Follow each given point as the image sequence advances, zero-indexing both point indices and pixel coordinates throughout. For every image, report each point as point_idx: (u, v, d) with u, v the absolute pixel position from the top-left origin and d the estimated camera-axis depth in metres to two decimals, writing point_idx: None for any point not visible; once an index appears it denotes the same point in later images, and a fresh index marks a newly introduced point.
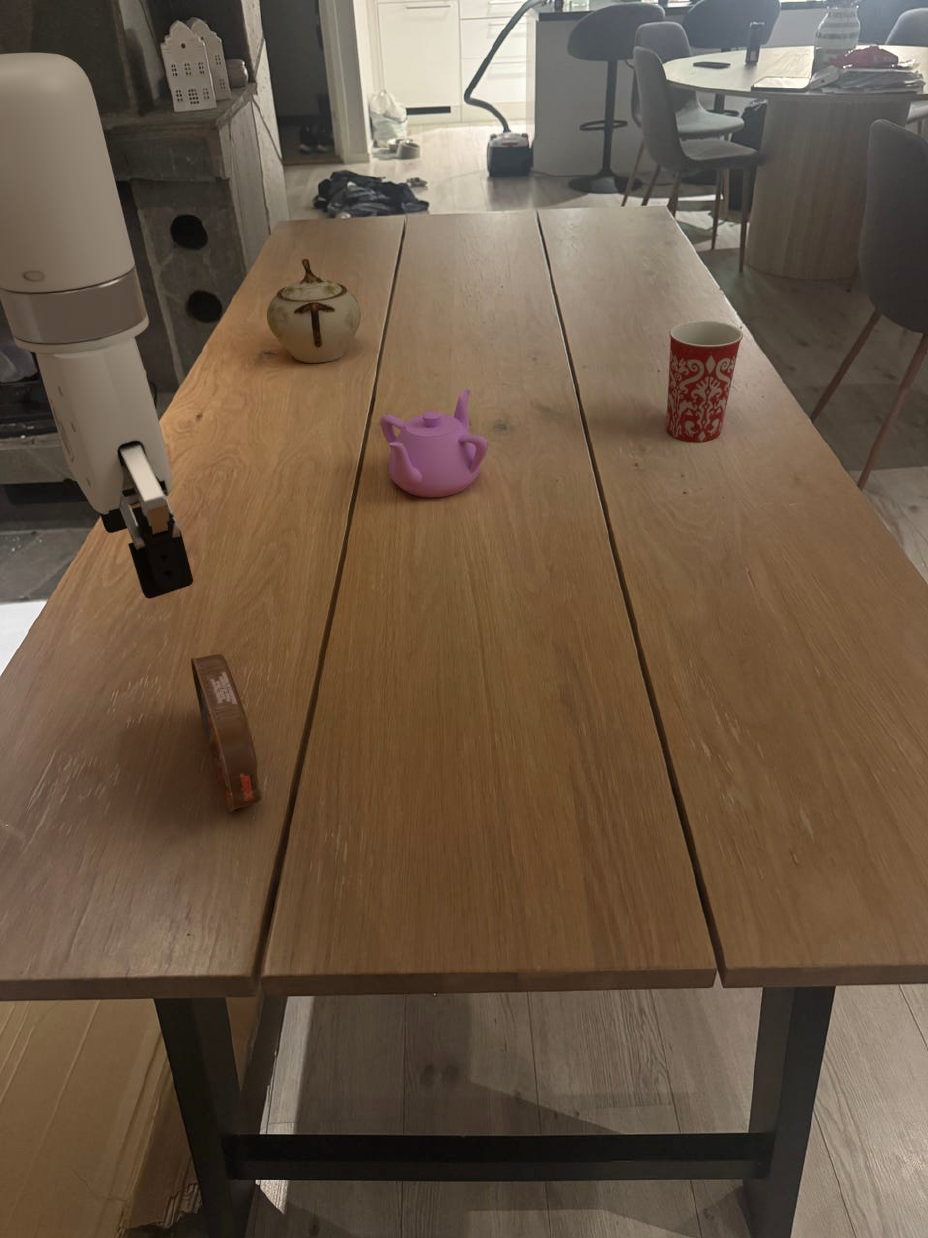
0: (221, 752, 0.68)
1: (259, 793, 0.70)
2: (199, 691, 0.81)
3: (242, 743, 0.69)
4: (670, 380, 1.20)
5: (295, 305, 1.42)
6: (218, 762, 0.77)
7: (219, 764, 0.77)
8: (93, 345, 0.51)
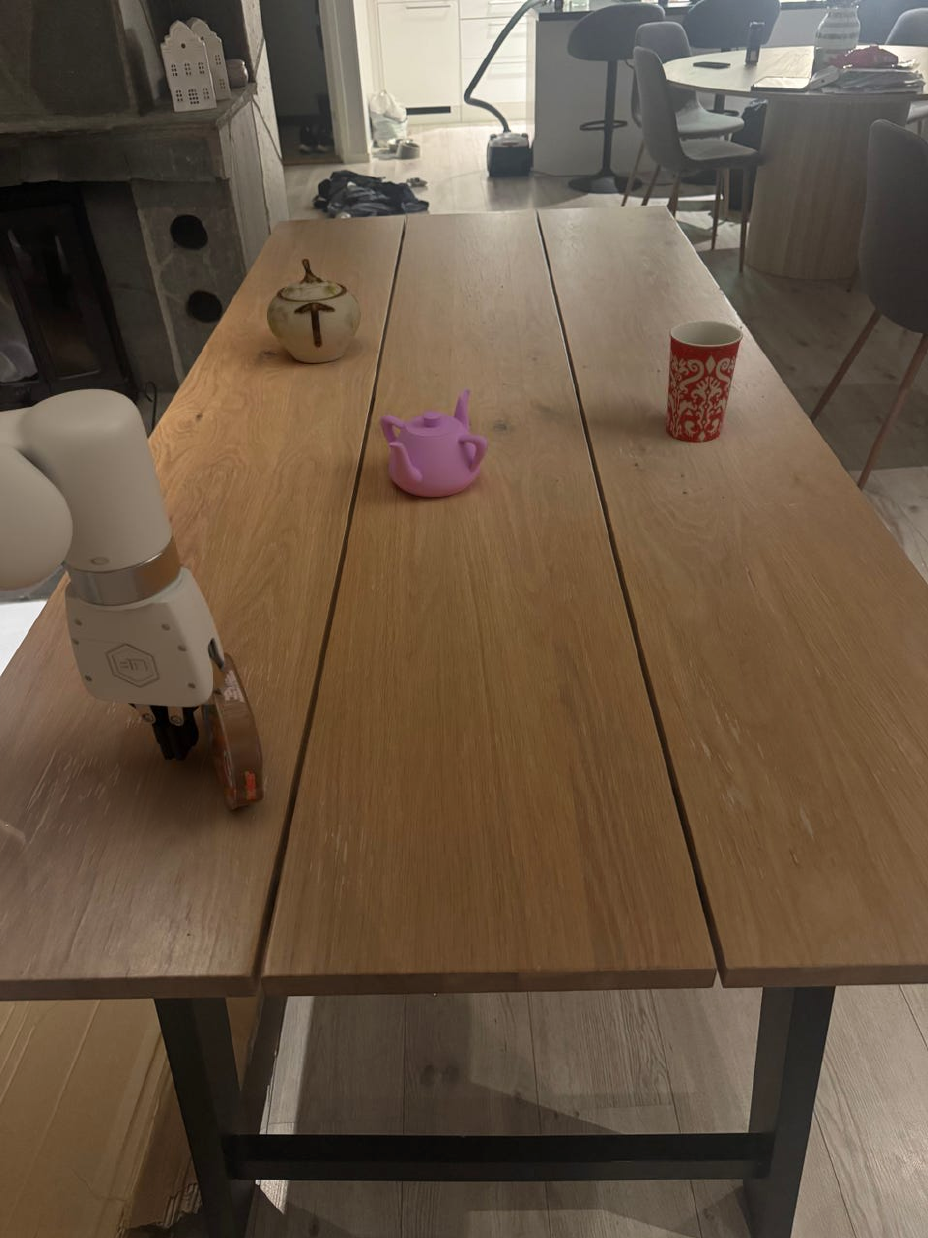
0: (228, 749, 0.68)
1: (262, 792, 0.71)
2: None
3: (249, 740, 0.69)
4: (670, 380, 1.20)
5: (295, 305, 1.42)
6: (219, 761, 0.77)
7: (219, 762, 0.77)
8: (176, 583, 0.66)
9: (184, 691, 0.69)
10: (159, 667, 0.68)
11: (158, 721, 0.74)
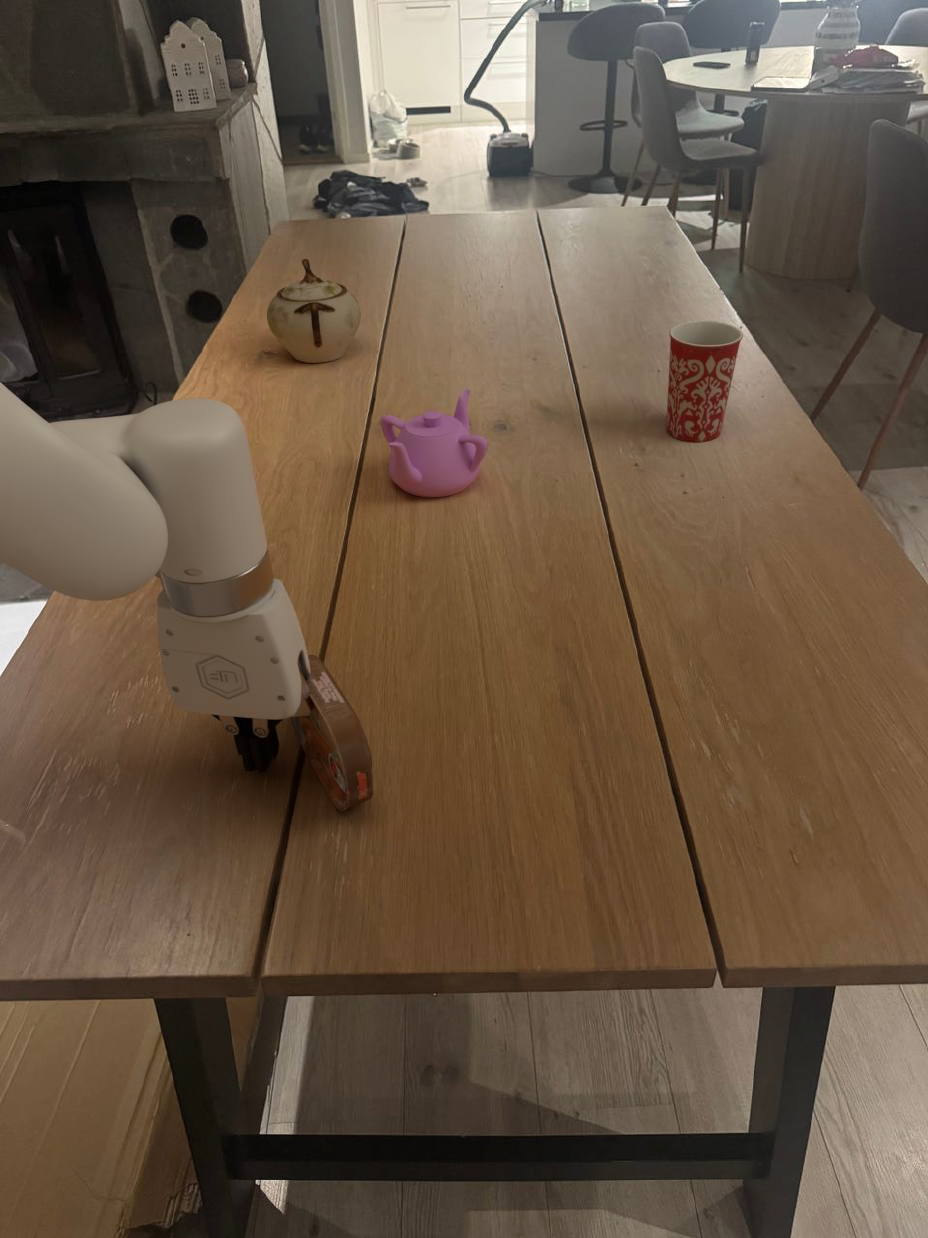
0: (338, 751, 0.68)
1: (372, 791, 0.70)
2: None
3: (357, 740, 0.69)
4: (670, 380, 1.20)
5: (295, 305, 1.42)
6: (317, 763, 0.76)
7: (318, 765, 0.76)
8: (270, 594, 0.65)
9: (273, 703, 0.68)
10: (249, 679, 0.67)
11: (241, 733, 0.73)
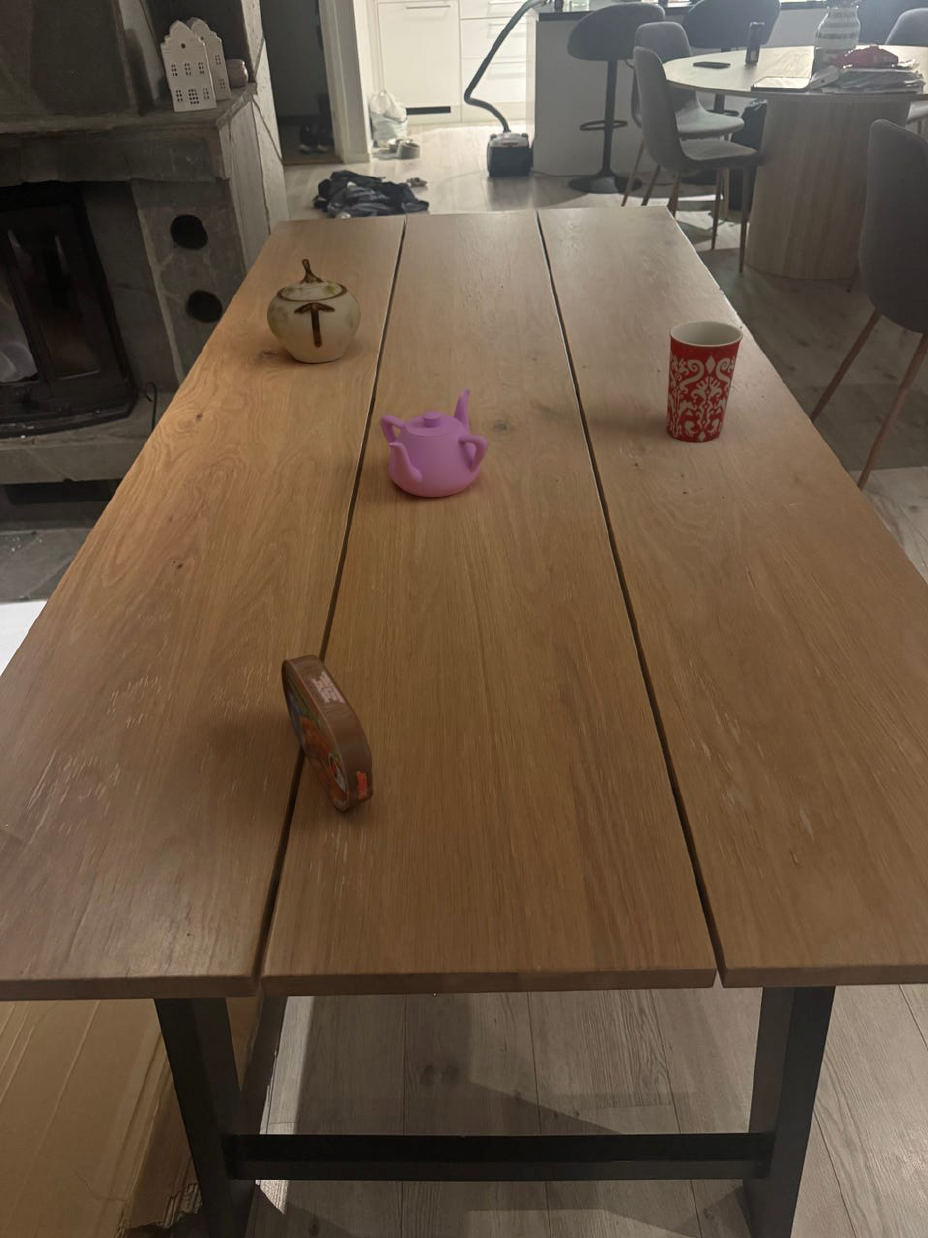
0: (338, 751, 0.68)
1: (372, 791, 0.70)
2: (287, 693, 0.80)
3: (357, 740, 0.69)
4: (670, 380, 1.20)
5: (295, 305, 1.42)
6: (317, 763, 0.76)
7: (318, 765, 0.76)
8: None
9: None
10: None
11: None
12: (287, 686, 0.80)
